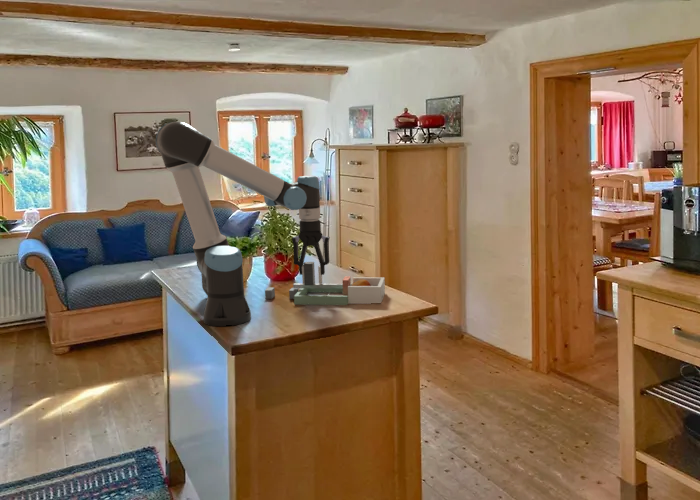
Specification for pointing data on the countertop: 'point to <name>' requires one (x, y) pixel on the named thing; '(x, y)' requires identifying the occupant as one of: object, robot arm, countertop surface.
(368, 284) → the fruit
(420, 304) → the countertop surface
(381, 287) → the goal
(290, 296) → the pitch
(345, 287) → the kicker rod
